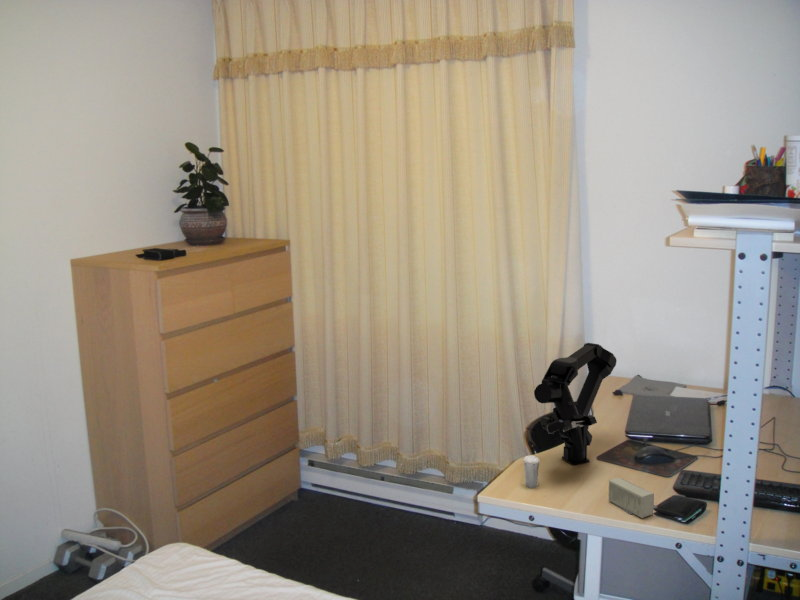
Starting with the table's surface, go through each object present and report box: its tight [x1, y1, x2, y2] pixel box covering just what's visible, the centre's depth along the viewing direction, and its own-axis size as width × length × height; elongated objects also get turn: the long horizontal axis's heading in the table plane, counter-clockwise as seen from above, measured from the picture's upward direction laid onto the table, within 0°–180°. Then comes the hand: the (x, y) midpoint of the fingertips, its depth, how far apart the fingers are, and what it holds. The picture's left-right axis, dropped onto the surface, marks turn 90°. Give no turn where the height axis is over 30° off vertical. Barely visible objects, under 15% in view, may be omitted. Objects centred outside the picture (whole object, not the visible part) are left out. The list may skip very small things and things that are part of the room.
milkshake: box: [523, 454, 543, 489], centre depth 204 cm, size 4×5×10 cm
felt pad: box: [611, 502, 658, 515], centre depth 191 cm, size 9×8×1 cm
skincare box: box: [608, 476, 655, 519], centre depth 189 cm, size 6×4×12 cm
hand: (582, 452), depth 204 cm, fingers closed
